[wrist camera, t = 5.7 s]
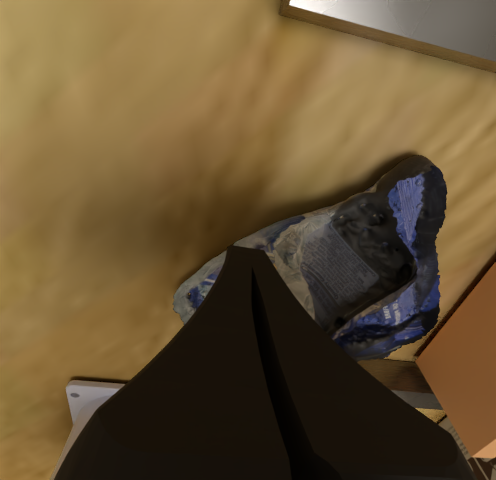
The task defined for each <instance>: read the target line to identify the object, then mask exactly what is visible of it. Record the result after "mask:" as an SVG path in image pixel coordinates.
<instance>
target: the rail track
mask: <svg viewBox="0 0 496 480" xmlns="http://www.w3.org/2000/svg"><path fill="white" fill-rule="evenodd" d="M279 15H282V16H286V17H289V18H293V19H297V20H301V21H304V22H308V23H312V24H315V25H319V26H323V27H327V28H330V29H334V30H338V31H341V32H345V33H349V34H353V35H356V36H360V37H364V38H368V39H371V40H375V41H379V42H382V43H386V44H390V45H394V46H397V47H401V48H405V49H408V50H412V51H416V52H420V53H423V54H427V55H431V56H435V57H438V58H442V59H446V60H449V61H453V62H457V63H461V64H464V65H468V66H472V67H476V68H479V69H483V70H487V71H490V72H494V73H496V0H282V2H281V7H280V12H279ZM357 363H358V364H359V365H360V366H362V367H363V368H364V369H365V370H366V371H368V372H369V373H370V374H371V375H372V376H373V377H375V378H376V379H377V380H378V381H380V382H381V383H382V384H383V385H385V386H386V387H387V388H388V389H390V390H391V391H392V392H394V393H395V394H396V395H397V396H399V397H400V398H401V399H403V400H404V401H405V402H407V403H408V404H410V405H411V406H412V407H414V408H425V409H438V410H443V408H442V406H441V404H440V403H439V401H438V399H437V398H436V396H435V394H434V393H433V391H432V389H431V387H430V386H429V384H428V382H427V381H426V379H425V377H424V376H423V374H422V372H421V370H420V369H419V367H418V365H417V364H416V363H413V362H404V361H394V360H385V359H376V360H374V359H371V360H361V361H358V362H357Z"/></svg>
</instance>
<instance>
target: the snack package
mask: <svg viewBox="0 0 496 480" xmlns="http://www.w3.org/2000/svg"><path fill="white" fill-rule="evenodd" d="M446 194H447V187H446V182H445V181H444V179H443V174H442V172H441V170H440V169H439V168H438V167H436V166H435V165H434V164H433V163H432V162H431V161H430V160H429V159H427V158H426V157H424V156H421V155H416V156H412V157H409V158H407V159H405V160H403V161H401V162H399V163H398V164H397V165H396V166H395V167H394V168H393V169H391V170H390V171H389V172H388V173H386V174H385V175H383V176H382V177H381V179H380V180H378V181H377V182H376V183H375V185H374V186H372V187H370V188H368V189H366V191H364V192H362V193H357V194H355V195H352V196H350V197H349V198H348V199H347V200H345V201H343V202H339V203H337V204H336V205H333V206H329V207H324V208H321V209H318V210H315V211H312V212H309V213H305V214H302V215H298V216H294V217H291V218H288V219H285V220H282V221H278V222H276V223H273V224H271V225H269V226H268V227H265V228H263V229H261V230H259V231H258V232H256V233H253V234H251V235H249V236H248V237H244V238H243V239H241V240H238V241H236V242H235V243H234V246H240V247H247V248H254V249H260V250H264V251H265V252H266V254H267V255H268V257H269V258H270V260H271V262H272V263H273V265H274V266H275V268H276V270H277V271H278V273H279V274H280V276H281V277H282V279H283V280H284V282H285V283H286V285H287V286H288V287H289V289H290V290H291V292H292V293H293V294H294V296H295V297H296V299H297V300H298V301H299V302H300V304H301V305H302V306H303V307H304V309H305V310H306V311H307V312H308V313H309V315H310V316H311V317H312V318H313V319H314V320H315V322H316V323H317V324H318V325H319V326H320V327H321V328H322V329H323V330H324V331H325V332H326V333H327V334H328V335H329V336H330V337H331V338H332V339H333V340H334V341H335V342H336V343H337V344H338V345H339V346H340V347H341V348H342V349H343V350H344V351H345V352H346V353H347V354H348V355H349V356H351V357H352V358H353V359H354V360H355V361H356V362H358V361H361V360H371V359H374V360H376V359H378V358H379V359H382V358H385V357H388V356H389V355H390V353H391V352H393V351H396V350H397V349H398V348H401V347H402V345H407V344H410V343H414V342H415V341H417V340H419V339H421V338H422V336H426V334H427V333H428V332H429V331H430V330H431V329H433V328H434V326H435V324H436V323H437V322H438V320H437V318H438V314H439V312H440V308H439V301H440V300H439V299H440V296H441V295H440V292H439V290H438V285H439V283H440V282H439V278H440V275H437V273H438V272H439V270H438V260H437V256H438V254H437V253H436V246H435V240H436V238H437V237H436V235H437V234H438V232H439V228H441V227H442V225H443V221H444V219H445V213H444V211H445V210H446ZM226 252H227V251H224V252H223V253H221V254H220V255H218V256H217V257H215V258H212V259H211V260H210V261H209V262H207V263H206V264H205V265H204V266H203V267H202V268H201V269H200V270H198V271H197V272H196V273H195V274H194V275H193V276H191V277H190V278H189V279H188V280H186V281H185V282H184V283H183V284H181V286H180V287H179V288H178V289H177V291H176V293H175V294H174V302H173V305H174V308H173V310H174V311H175V312H176V313H179V314H180V317H181V320H182V321H183V322H184V325H185V324H186V323H187V321H188V320H189V319H190V318H191V316H192V315H193V314H194V312H195V311H196V310H197V308H198V307H199V306H200V304H201V303H202V301H203V300H204V298H205V297H206V295H207V294H208V292H209V290H210V289H211V287H212V286H213V284H214V282H215V281H216V279H217V277H218V275H219V273H220V271H221V269H222V266H223V264H224V261H225V257H226ZM187 293H191V294H190V296H189V295H188V294H187Z"/></svg>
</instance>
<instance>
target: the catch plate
mask: <svg viewBox="0 0 496 480" xmlns="http://www.w3.org/2000/svg"><path fill="white" fill-rule="evenodd" d="M415 362H416V364H417V365H418V367H419V369H420V370H421V372H422V374H423V376H424V377H425V379H426V381H427V382H428V384H429V386H430V387H431V389H432V391H433V393H434V394H435V396H436V398H437V399H438V401H439V403H440V404H441V406H442V408H443V410H444V411H445V413H446V415H447V416H448V418H449V420H450V422H451V423H452V425H453V427H454V428H455V430H456V432H457V433H458V435H459V437H460V439H461V440H462V442H463V444H464V445H465V447H466V449H467V451H468V452H469V454H470V456H471V457H478V458H495V457H496V262H495V263H494V264H493V266H492V267H491V268H490V269H489V271H488V272H487V273H486V274H485V276H484V277H483V278H482V279H481V280H480V282H479V283H478V284H477V285H476V287H475V288H474V289H473V290H472V292H471V293H470V294H469V295H468V297H467V298H466V299H465V300H464V302H463V303H462V304H461V305H460V306H459V308H458V309H457V310H456V311H455V313H454V314H453V315H452V316H451V318H450V319H449V320H448V321H447V323H446V324H445V325H444V326H443V328H442V329H441V330H440V331H439V332H438V334H437V335H436V336H435V337H434V339H433V340H432V341H431V342H430V344H429V345H428V346H427V347H426V349H425V350H424V351H423V352H422V353H421V355H420V356H419V357H418V358H417V360H416V361H415Z"/></svg>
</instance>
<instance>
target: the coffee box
mask: <svg viewBox="0 0 496 480" xmlns="http://www.w3.org/2000/svg"><path fill="white" fill-rule="evenodd" d="M438 425H439V426H441V427H442V428H443V429H445V430H446V431H448V432H449V433H450V434H452V436H453V438H454V439H455V441H456V443H457V444H458V446H459V448H460V450H461V451H462V453H463V455H464V457H465V458H466V460H467V462H468V464H469V465H470V467H471V469H472V471H473V472H474V474H475V476H476V478H477V479H478V480H496V457H495V458H478V457H471V456H470V454H469V452H468V451H467V449H466V447H465V445H464V444H463V442H462V440H461V439H460V437H459V435H458V433H457V432H456V430H455V428H454V427H453V425H452V423H451V422H450V420H449V418H448V416H447V417H446V418H445V419H444V420H443V421H441V422H440V423H439V424H438Z"/></svg>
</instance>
